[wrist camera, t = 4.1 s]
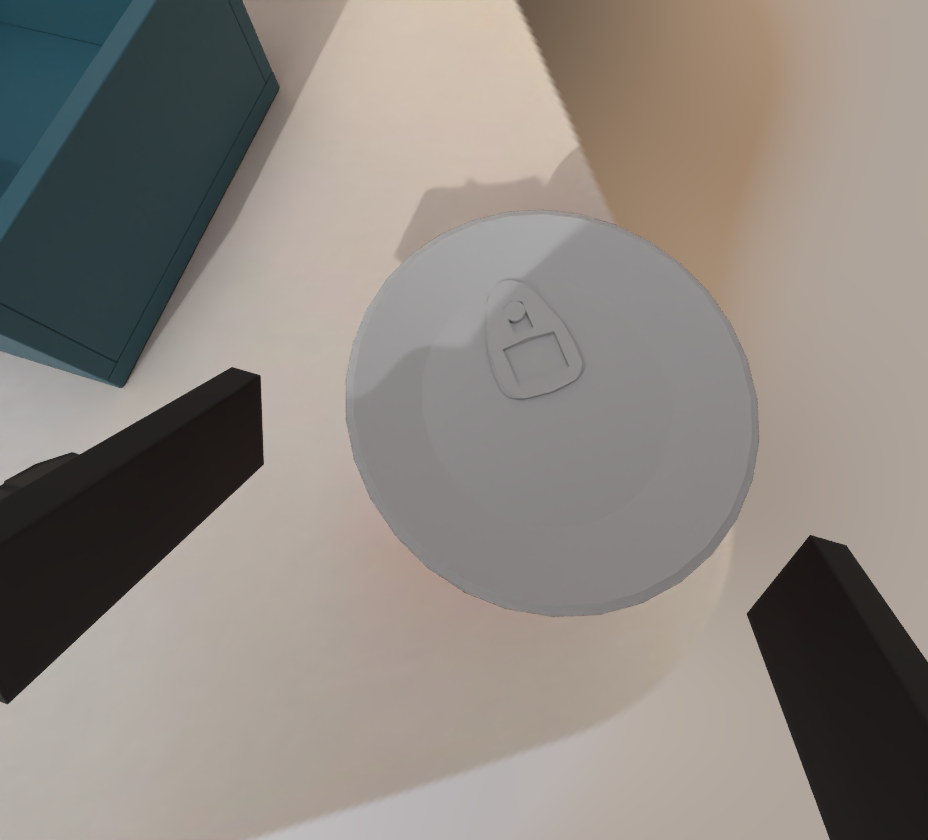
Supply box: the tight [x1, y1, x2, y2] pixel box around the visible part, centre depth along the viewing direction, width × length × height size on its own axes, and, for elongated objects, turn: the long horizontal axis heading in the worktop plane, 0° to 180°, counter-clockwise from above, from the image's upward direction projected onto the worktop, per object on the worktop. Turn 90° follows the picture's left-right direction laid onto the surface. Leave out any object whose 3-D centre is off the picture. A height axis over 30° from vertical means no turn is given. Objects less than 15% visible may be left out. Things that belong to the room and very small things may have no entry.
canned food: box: [346, 210, 759, 617], centre depth 14 cm, size 8×8×11 cm
